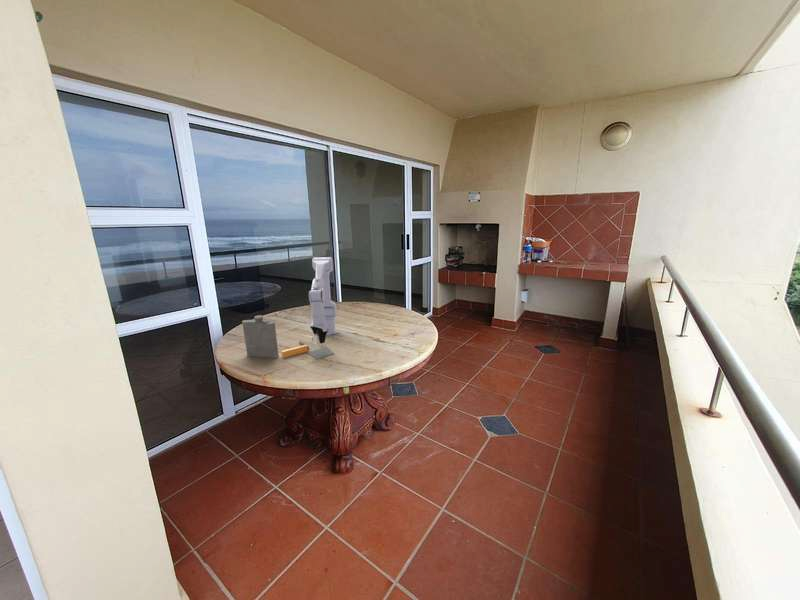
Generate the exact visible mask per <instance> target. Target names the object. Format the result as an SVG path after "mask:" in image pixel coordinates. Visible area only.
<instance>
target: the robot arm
mask: <svg viewBox="0 0 800 600" xmlns="http://www.w3.org/2000/svg"><path fill="white" fill-rule="evenodd" d="M311 259H312V260H311V261H312V262H311V263H312V264H311V266H312V268H313V270H314V271H315V277H314V278H313V279H312V283H311V288H310V290H309V291H308V301H309V306H310V308H311V319H310V324H309V326H310V329H311V331H312V333H313V334H318V337H319V341H320V343H325V338H326V339H327V336H331V335H334V334H338V333H339V331H338V330H336V320H335V319H336V317H337V316H338V315H337V314H338V308H337V303H336V302H334V300H332V298H331V297H332V296H331V295H332V294H331V283H330V282H331V281H330V279H331V278H330V273H331V272H333V270H334V263H333V261H334V260H333V258H332V257H331V256H329V257H323V256H322V257H313V258H311Z"/></svg>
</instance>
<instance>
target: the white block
mask: <svg viewBox="0 0 800 600" xmlns="http://www.w3.org/2000/svg"><path fill="white" fill-rule="evenodd" d="M312 337H313V340H312V341H313V345H314V346H315V347H316V348H321V347H323V346H324V347H325V346H327V337H326V338H325V343H320V341H319V337H318V334H314V333H313V334H312Z"/></svg>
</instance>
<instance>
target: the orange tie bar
mask: <svg viewBox="0 0 800 600" xmlns="http://www.w3.org/2000/svg"><path fill="white" fill-rule="evenodd" d="M306 352H309V349H307V345H303V346H302V345H299V346H296V347H291V348H288V349H284V350H281V358H282V359H285V358H288V357H291V356H295V355H300V354H303V353H306Z"/></svg>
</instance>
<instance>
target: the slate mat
mask: <svg viewBox="0 0 800 600" xmlns="http://www.w3.org/2000/svg"><path fill="white" fill-rule="evenodd" d="M307 354H308V355H309V356H311V357H312V358H313V360H315V361H317V360H320V359H324V358H327V357H330V356H334V355H336V353H335V352H334V351H333V350H331V349H330V348H328V347H327V346H324V347H319V348H316V349H314V350H311V351H310V350H308V351H307Z"/></svg>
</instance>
